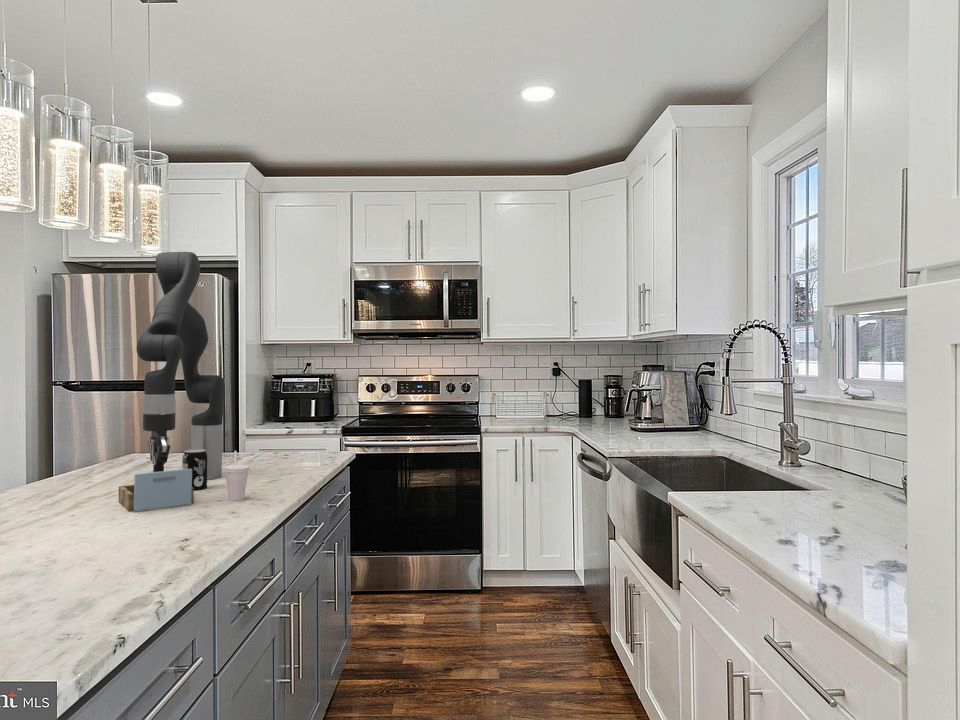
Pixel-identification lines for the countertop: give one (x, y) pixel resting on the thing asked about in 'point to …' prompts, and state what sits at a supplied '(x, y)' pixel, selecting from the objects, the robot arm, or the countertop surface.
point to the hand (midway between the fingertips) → (158, 478)
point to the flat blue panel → (162, 490)
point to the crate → (128, 497)
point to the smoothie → (236, 480)
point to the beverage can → (196, 467)
